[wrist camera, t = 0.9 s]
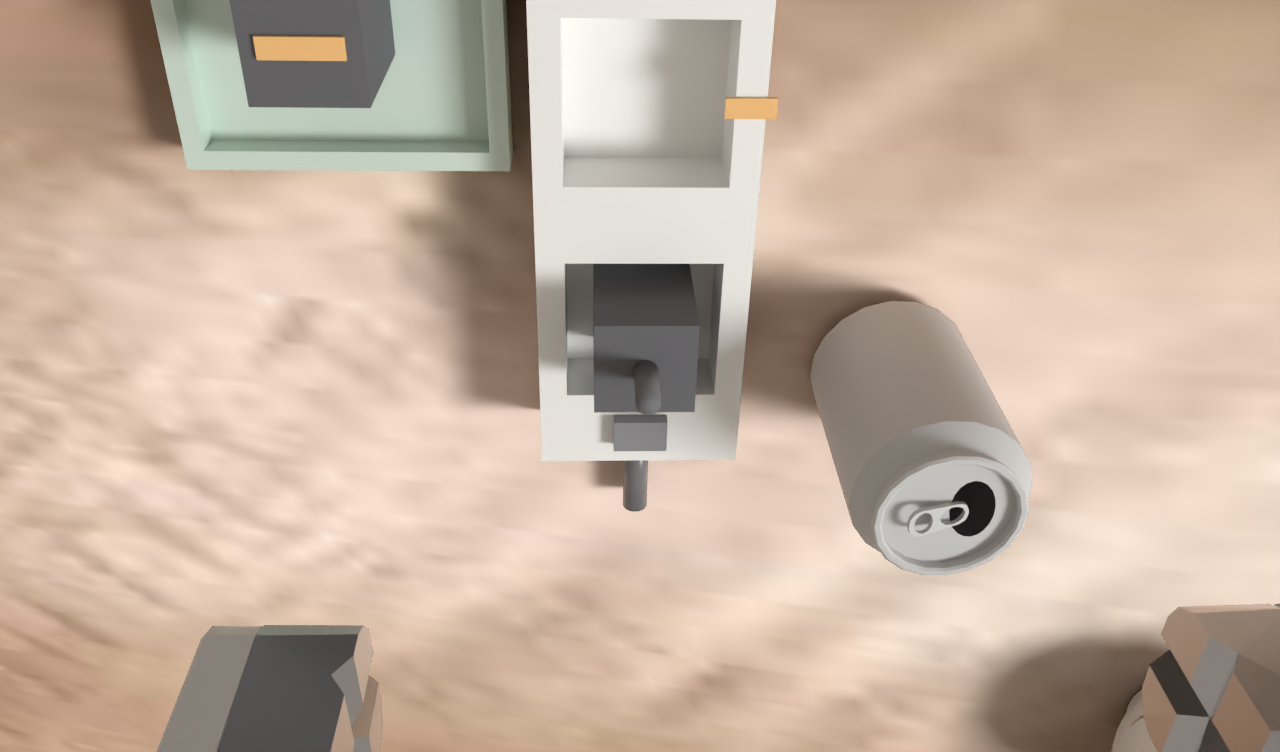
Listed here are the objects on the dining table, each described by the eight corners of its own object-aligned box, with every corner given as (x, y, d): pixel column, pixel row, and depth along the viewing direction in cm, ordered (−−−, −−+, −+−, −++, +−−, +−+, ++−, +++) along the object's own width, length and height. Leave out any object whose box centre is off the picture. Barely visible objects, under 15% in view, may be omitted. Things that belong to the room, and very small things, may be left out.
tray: (129, -197, 39) (108, -189, 37) (497, -189, 40) (494, -182, 38) (201, 150, 46) (187, 169, 45) (512, 152, 47) (510, 171, 45)
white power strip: (528, -114, 41) (522, -89, 37) (778, -110, 41) (798, -84, 38) (547, 489, 57) (544, 550, 53) (727, 487, 58) (737, 548, 54)
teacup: (1113, 791, 74) (1165, 906, 67) (1040, 691, 68) (1089, 805, 61) (1340, 700, 69) (1420, 812, 63) (1282, 584, 63) (1364, 695, 57)
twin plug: (593, 255, 49) (594, 359, 42) (688, 256, 49) (705, 358, 42) (593, 337, 51) (594, 447, 44) (683, 336, 51) (699, 446, 44)
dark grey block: (270, -59, 41) (224, -16, 36) (384, -58, 41) (355, -15, 36) (287, 53, 43) (247, 108, 38) (395, 54, 44) (369, 109, 38)
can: (956, 412, 55) (1037, 582, 46) (808, 428, 56) (856, 600, 46) (966, 283, 51) (1057, 437, 41) (806, 299, 51) (858, 458, 42)
